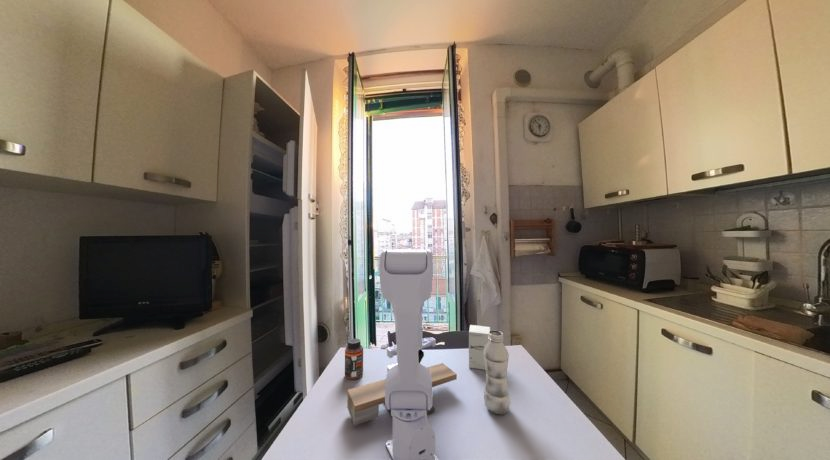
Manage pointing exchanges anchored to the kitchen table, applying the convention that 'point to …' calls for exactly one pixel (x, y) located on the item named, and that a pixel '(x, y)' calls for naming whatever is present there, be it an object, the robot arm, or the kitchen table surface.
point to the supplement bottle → (354, 359)
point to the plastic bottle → (496, 374)
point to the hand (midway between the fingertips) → (412, 376)
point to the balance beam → (370, 396)
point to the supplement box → (477, 346)
